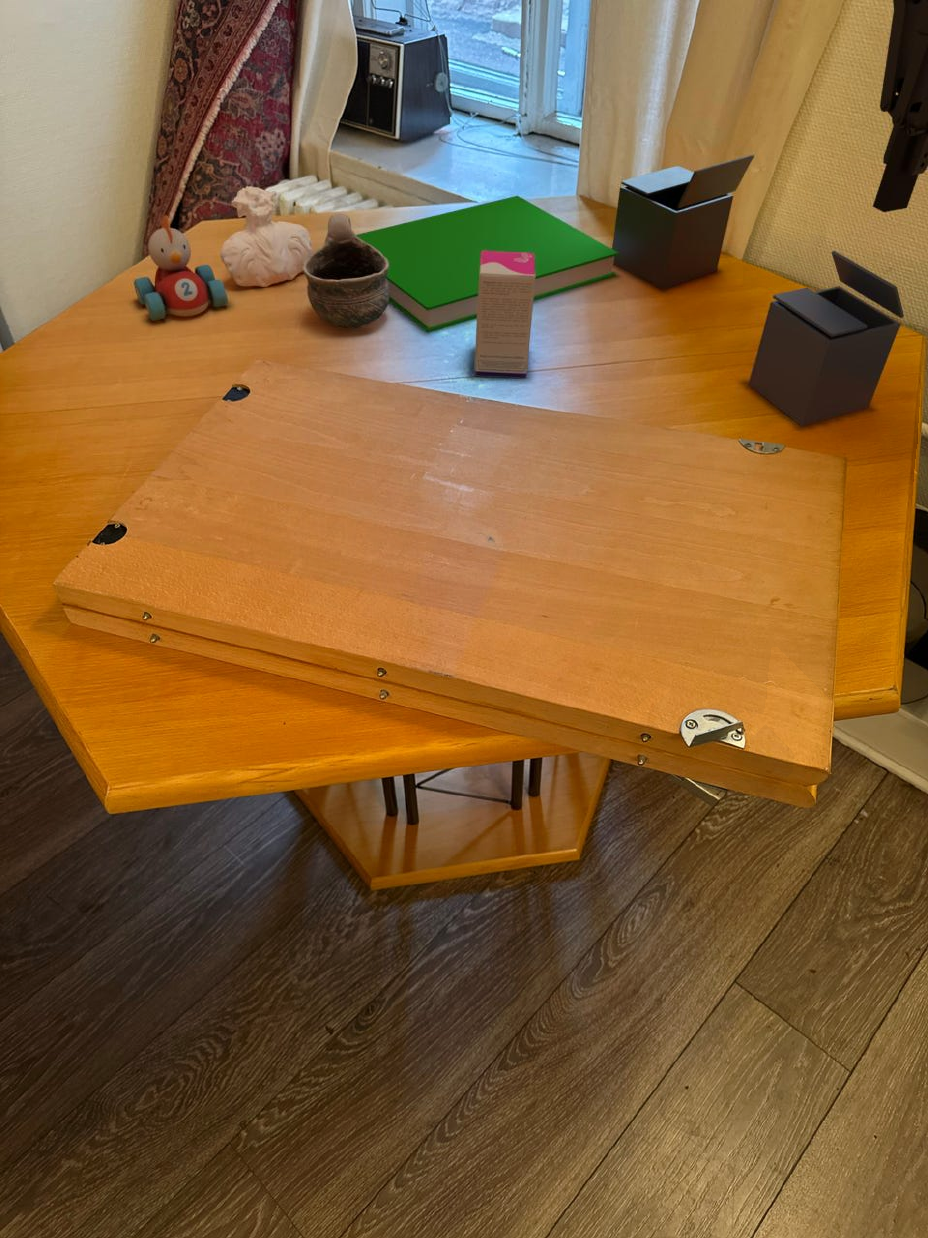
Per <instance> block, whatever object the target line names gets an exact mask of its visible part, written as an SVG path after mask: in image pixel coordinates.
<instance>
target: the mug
mask: <svg viewBox="0 0 928 1238" xmlns="http://www.w3.org/2000/svg"><path fill="white" fill-rule="evenodd" d="M356 235H357V234H356V233H355V232H354V230H353V229H352V225H351V218H350V217H349V215H348V214H345V213H335V214H332V215H330V216H329V218H328V221H327V233H326V236H325V239H324V242H323V245H321V246H320V247H319V248H316V249H315V250H312V252H311V253H310V254H309V255H308V256H307V257H306V259H305V260H304V262H303V267H302V270H303V271H302V274H304V276H305V278H306V280H307V287H306V289H307V298H308V302H309V303H310V305H311V307H312V309H313V310H314V312H315V314H316V315H318V317H319V318H320V319H322V321H324V322H325V323H328V324H330V325H333V326H336V327H339V328H347V329H348V328H349V329H350V328H351V329H357V328H361V327H362V326H363V327H364V326H367V325H369V324H371V323H372V322H374V321H376V320H378V319H380V317H381V316H383V314H384V313H385V311H386V310H387V307H388V305H389V287H388V283H387V280H386V276H387V272H388V268H389V262H388V260H387V259H386V258H385V257H384V256H383V255H382V254H381V253H380V252H379V251H378V250H377V249H376V248H374V247H373V246H371V245H370V244H368V243H366V242H364V241H362V240H361V239H360V238H358V237H357V236H356Z"/></svg>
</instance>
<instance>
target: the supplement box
mask: <svg viewBox="0 0 928 1238" xmlns="http://www.w3.org/2000/svg"><path fill="white" fill-rule="evenodd" d="M534 286H535V256H534V253H521V252H499V251H484V250H483V251H481V255H480V271H479V290H478V307H477V318H476V326H475V346H474V369H473V370H474V373H473V374H474V376H475V377H485V378H486V377H489V378H490V377H491V378H492V377H493V378H516V379H520V378H521V379H525V378H526V377H527V373H528V363H529V353H530V343H531V341H530V340H531V333H532V332H531V331H532V321H533V310H534V309H533V307H534V301H533V298H534Z"/></svg>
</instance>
